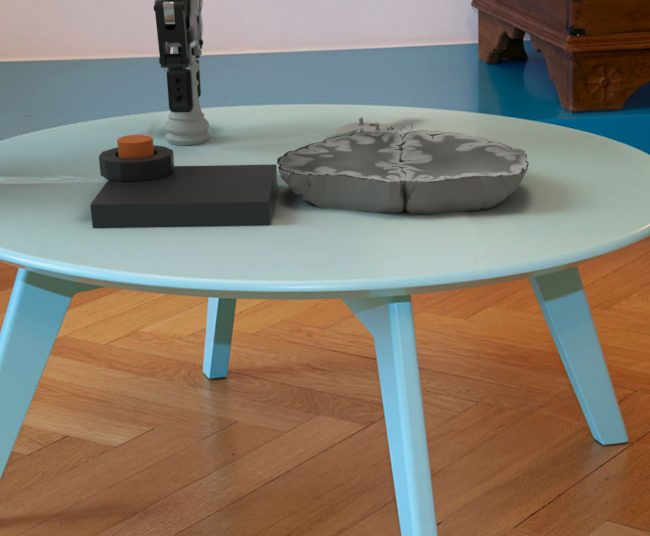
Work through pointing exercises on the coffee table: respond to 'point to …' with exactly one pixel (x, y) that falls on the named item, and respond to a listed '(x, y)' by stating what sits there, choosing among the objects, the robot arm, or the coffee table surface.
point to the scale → (181, 193)
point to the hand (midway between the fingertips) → (185, 104)
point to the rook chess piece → (188, 120)
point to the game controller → (366, 128)
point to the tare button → (135, 146)
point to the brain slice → (404, 172)
